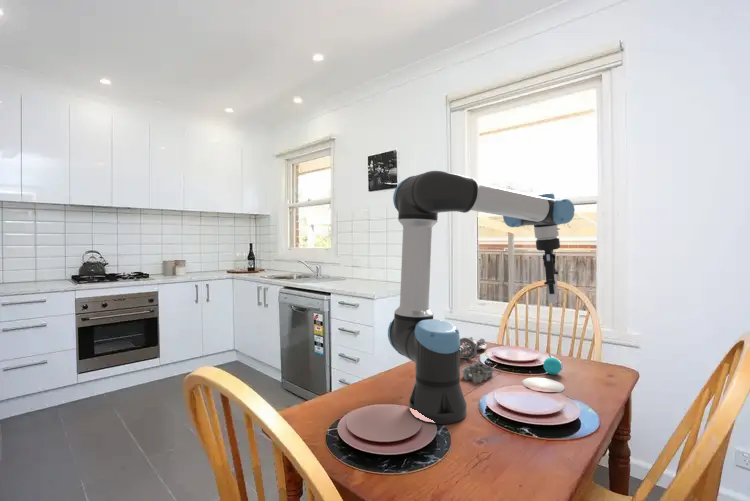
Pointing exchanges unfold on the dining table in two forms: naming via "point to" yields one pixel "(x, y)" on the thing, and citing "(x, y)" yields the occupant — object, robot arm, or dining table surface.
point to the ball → (552, 366)
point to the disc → (544, 384)
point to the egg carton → (481, 370)
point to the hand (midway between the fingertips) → (553, 297)
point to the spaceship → (470, 347)
